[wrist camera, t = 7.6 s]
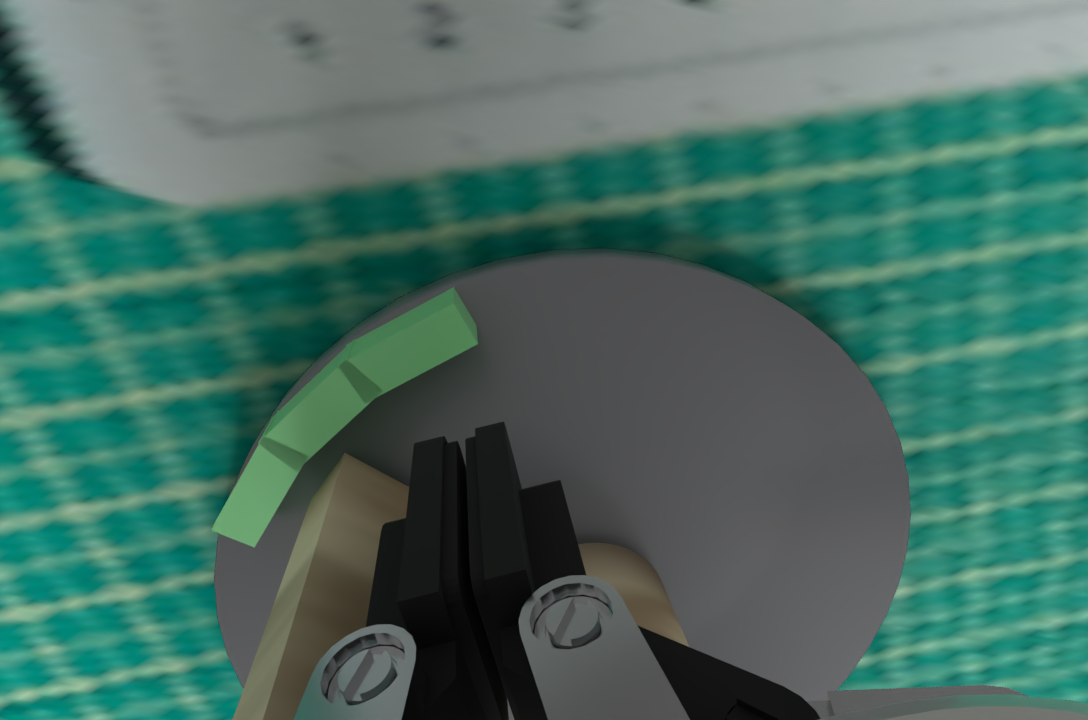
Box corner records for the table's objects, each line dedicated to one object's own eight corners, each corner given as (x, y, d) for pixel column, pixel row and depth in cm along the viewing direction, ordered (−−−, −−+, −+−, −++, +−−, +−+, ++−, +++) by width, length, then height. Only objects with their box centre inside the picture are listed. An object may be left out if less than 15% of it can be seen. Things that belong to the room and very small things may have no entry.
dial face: (730, 813, 24) (757, 885, 22) (185, 761, 20) (152, 844, 18) (1004, 358, 18) (1080, 394, 16) (302, 139, 14) (273, 149, 12)
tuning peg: (696, 587, 18) (833, 868, 11) (596, 691, 19) (669, 1002, 12) (379, 405, 15) (319, 650, 8) (279, 542, 16) (156, 858, 9)
